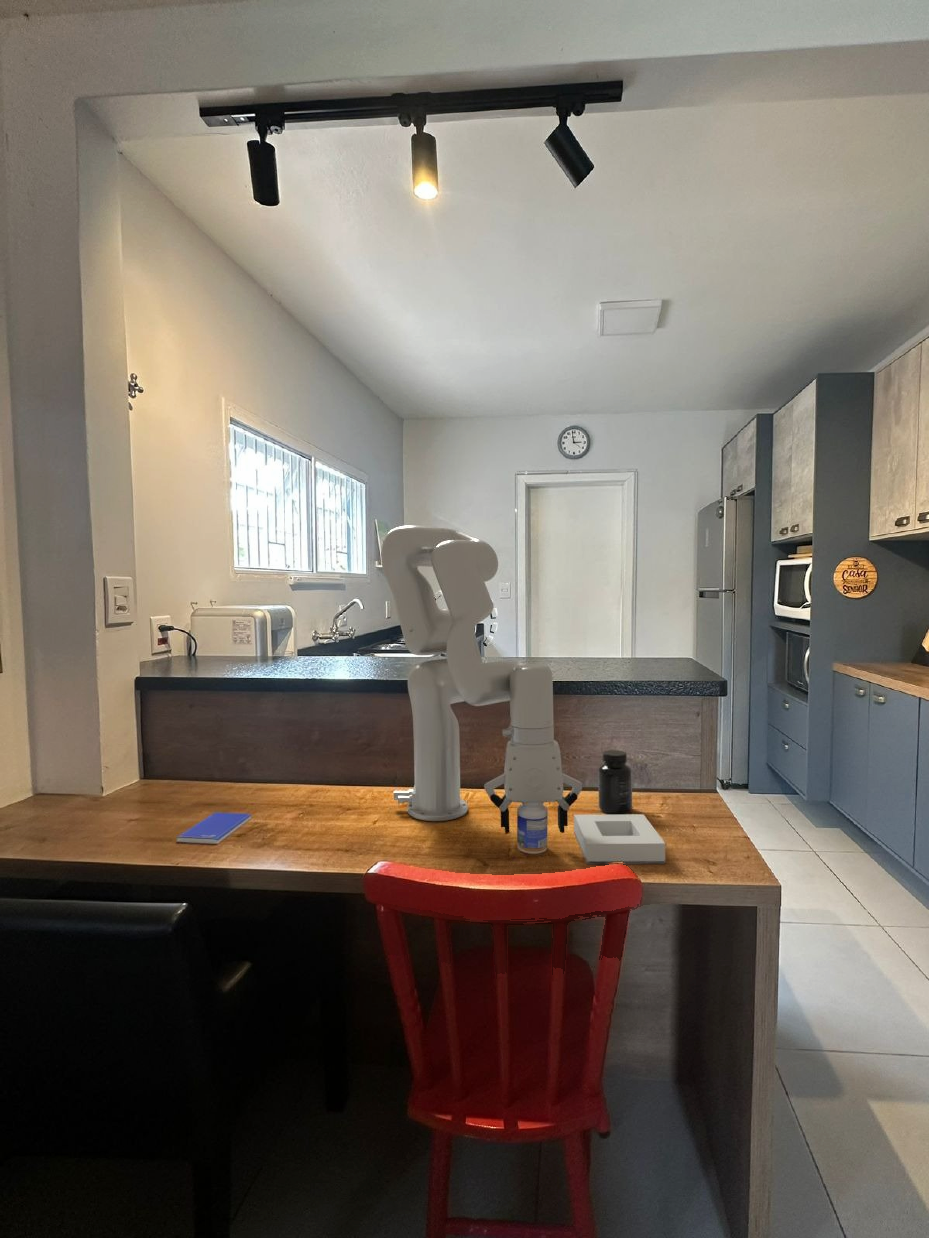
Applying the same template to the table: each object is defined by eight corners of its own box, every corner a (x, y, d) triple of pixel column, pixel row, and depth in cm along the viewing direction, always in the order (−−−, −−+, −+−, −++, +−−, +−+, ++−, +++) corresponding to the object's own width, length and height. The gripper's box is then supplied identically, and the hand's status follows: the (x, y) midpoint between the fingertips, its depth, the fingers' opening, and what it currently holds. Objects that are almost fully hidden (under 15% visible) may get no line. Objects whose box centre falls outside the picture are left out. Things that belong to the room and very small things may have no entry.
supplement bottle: (629, 804, 129) (629, 748, 128) (635, 816, 122) (635, 757, 121) (596, 803, 130) (596, 748, 129) (600, 815, 123) (600, 757, 122)
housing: (587, 864, 101) (587, 843, 101) (574, 832, 114) (574, 814, 114) (665, 863, 101) (665, 843, 101) (643, 832, 114) (643, 814, 114)
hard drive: (217, 838, 111) (250, 813, 123) (176, 836, 112) (213, 811, 125) (217, 846, 111) (251, 820, 124) (177, 844, 112) (213, 819, 125)
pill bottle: (514, 842, 110) (514, 789, 110) (544, 841, 111) (543, 788, 110) (520, 855, 105) (519, 800, 104) (550, 854, 105) (550, 799, 105)
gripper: (483, 740, 103) (485, 839, 104) (585, 738, 103) (586, 838, 103) (482, 731, 110) (484, 823, 111) (577, 729, 110) (579, 821, 111)
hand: (534, 830), depth 107 cm, fingers open, 9 cm apart
